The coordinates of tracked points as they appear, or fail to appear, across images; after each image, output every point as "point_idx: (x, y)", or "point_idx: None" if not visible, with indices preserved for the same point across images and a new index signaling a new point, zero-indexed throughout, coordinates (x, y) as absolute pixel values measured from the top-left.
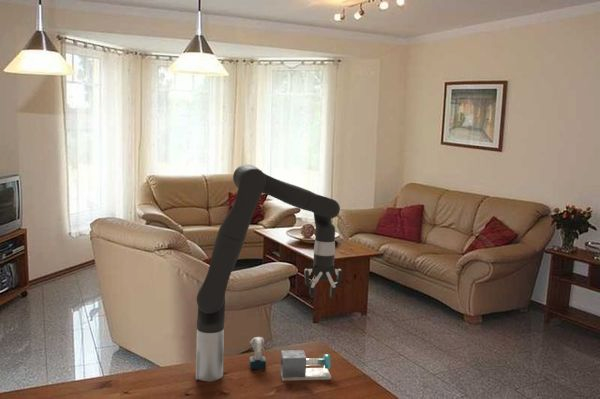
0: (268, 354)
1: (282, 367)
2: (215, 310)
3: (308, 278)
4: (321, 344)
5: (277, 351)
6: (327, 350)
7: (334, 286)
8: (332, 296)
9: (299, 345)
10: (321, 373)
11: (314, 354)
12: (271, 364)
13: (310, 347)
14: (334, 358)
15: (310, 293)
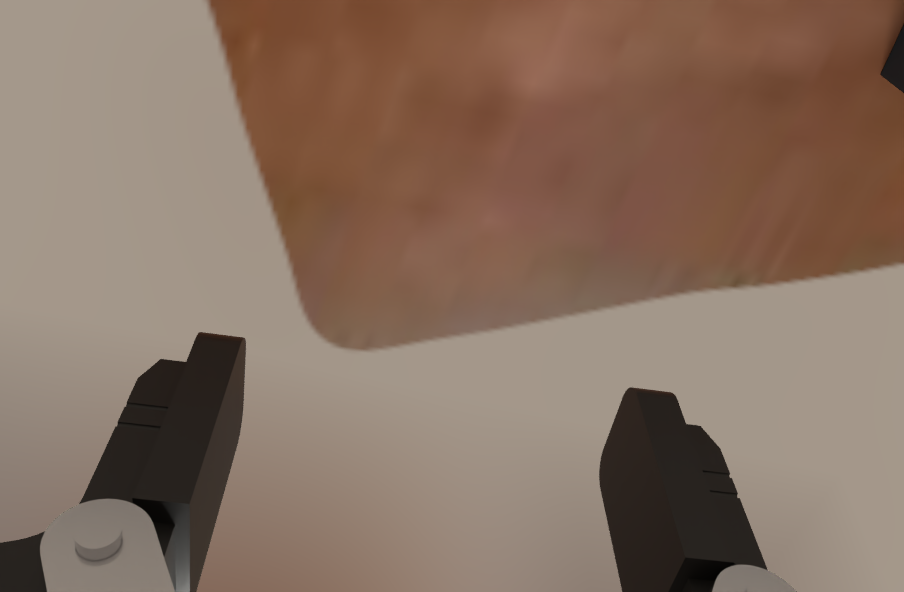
0: (763, 231)
1: None
2: None
3: None
4: (306, 312)
5: (676, 265)
6: (287, 211)
7: (83, 526)
8: (205, 343)
9: (477, 325)
10: None
11: (415, 165)
12: (829, 61)
13: (406, 282)
14: (268, 60)
15: (724, 467)
